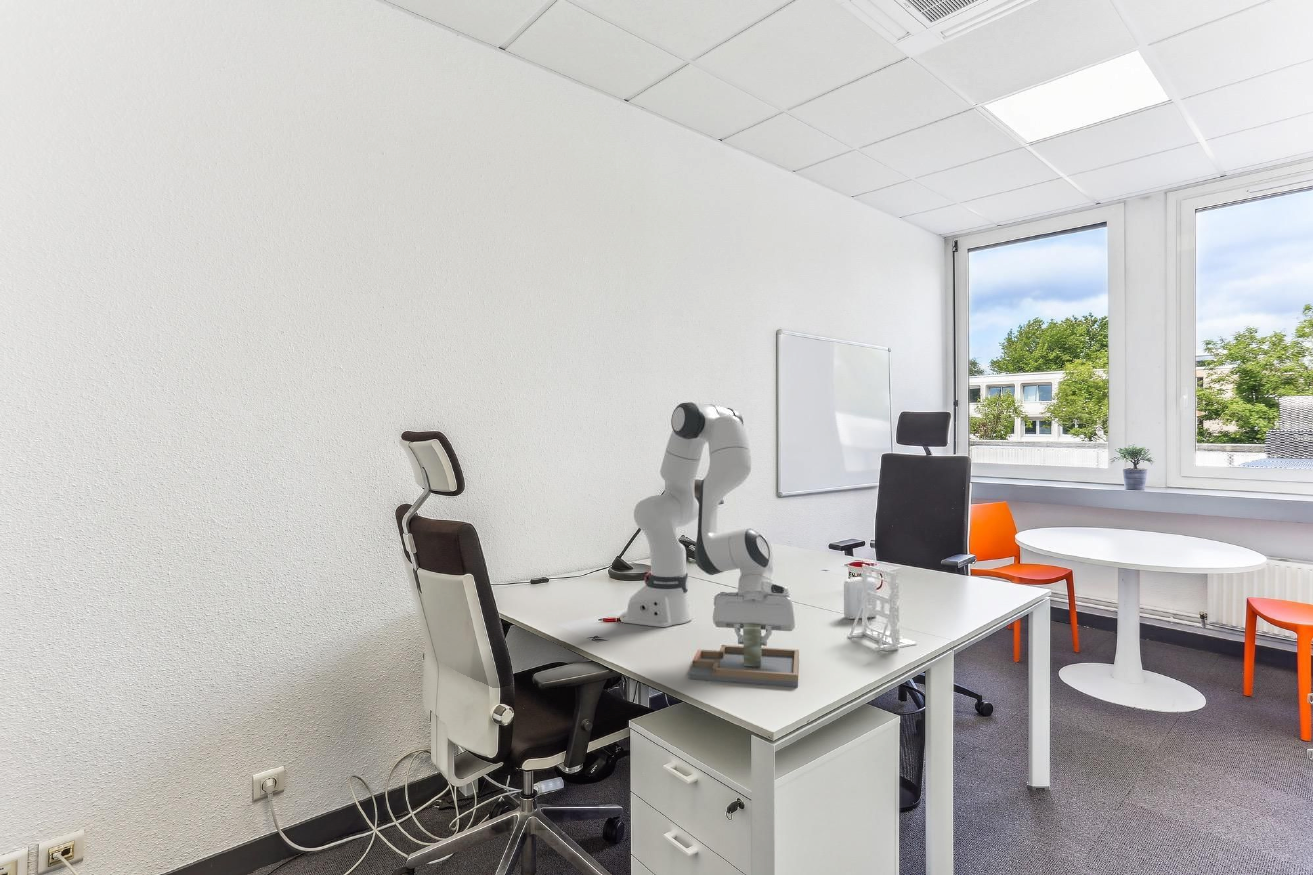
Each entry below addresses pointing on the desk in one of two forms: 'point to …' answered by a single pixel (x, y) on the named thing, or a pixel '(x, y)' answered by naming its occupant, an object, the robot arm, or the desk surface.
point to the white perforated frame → (881, 612)
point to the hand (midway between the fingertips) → (752, 644)
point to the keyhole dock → (730, 666)
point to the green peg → (752, 645)
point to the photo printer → (857, 596)
